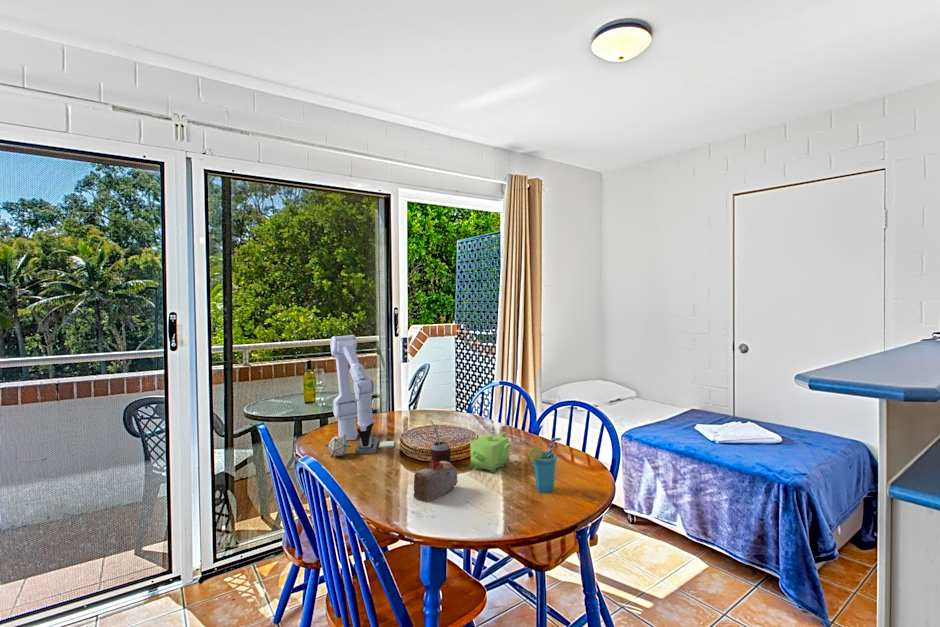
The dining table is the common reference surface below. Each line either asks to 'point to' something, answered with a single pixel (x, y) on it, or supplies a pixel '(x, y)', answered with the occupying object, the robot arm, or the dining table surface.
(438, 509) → the dining table surface
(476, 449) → the green knobbed block
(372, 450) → the metal frame
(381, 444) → the tray
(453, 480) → the food item
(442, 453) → the mate gourd
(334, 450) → the game die
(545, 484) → the cup
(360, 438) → the grey knob block
